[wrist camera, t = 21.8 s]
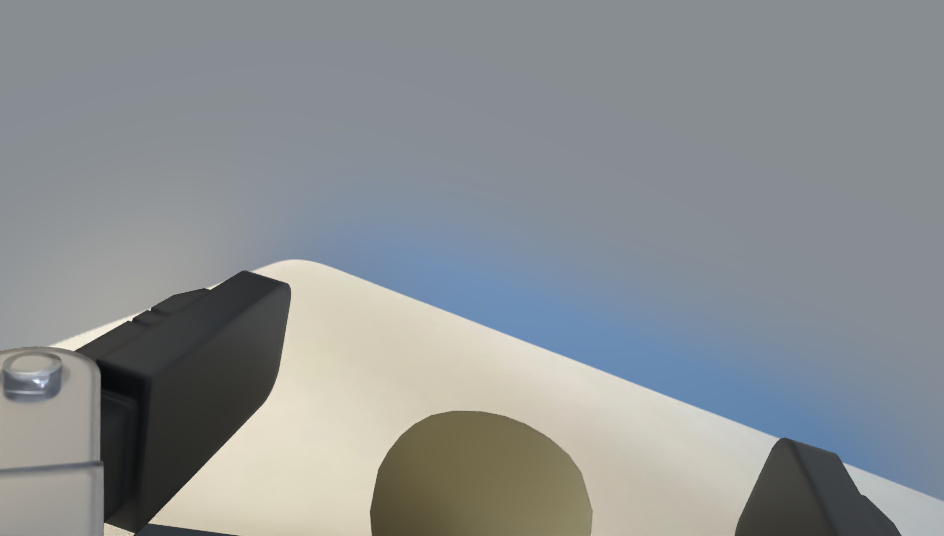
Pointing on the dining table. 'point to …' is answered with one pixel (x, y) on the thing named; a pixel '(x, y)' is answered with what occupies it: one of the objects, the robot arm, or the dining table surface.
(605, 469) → the dining table surface
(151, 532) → the rubber mat
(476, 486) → the game pawn
